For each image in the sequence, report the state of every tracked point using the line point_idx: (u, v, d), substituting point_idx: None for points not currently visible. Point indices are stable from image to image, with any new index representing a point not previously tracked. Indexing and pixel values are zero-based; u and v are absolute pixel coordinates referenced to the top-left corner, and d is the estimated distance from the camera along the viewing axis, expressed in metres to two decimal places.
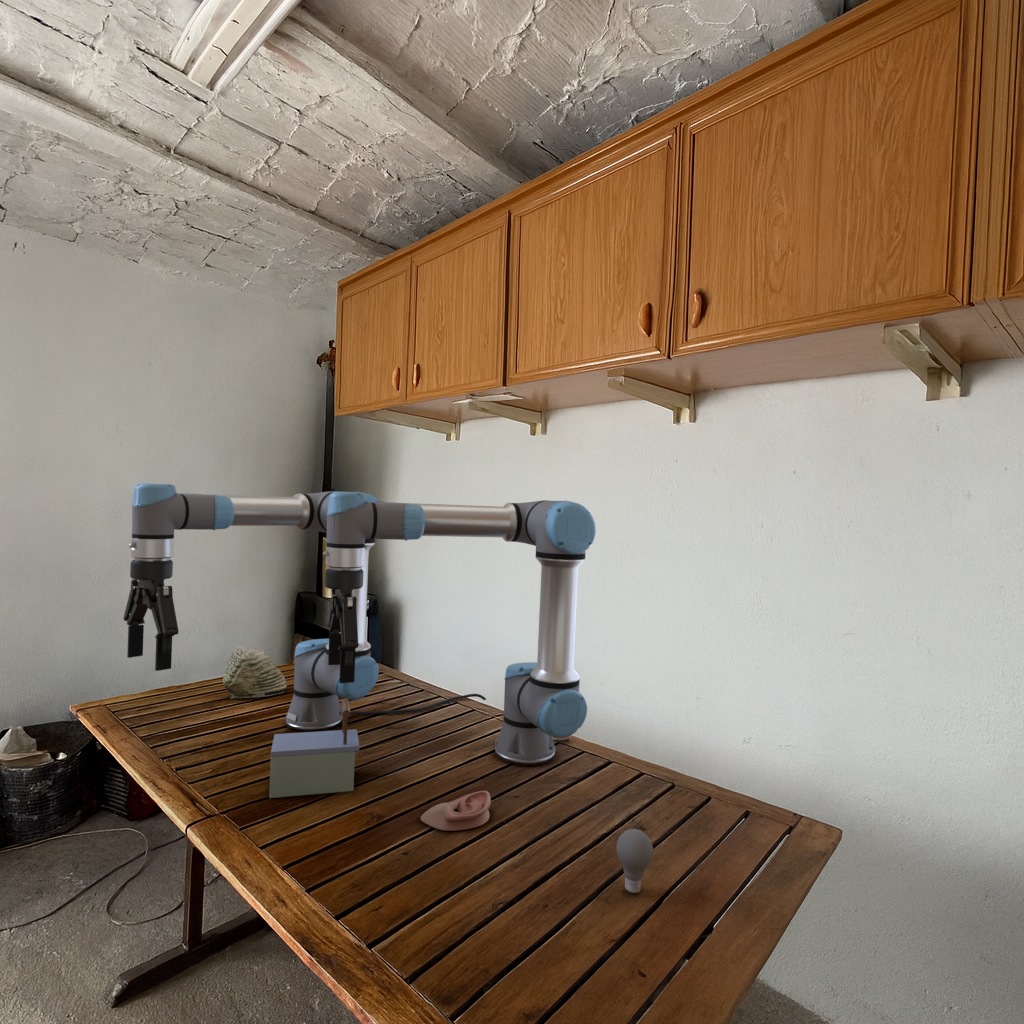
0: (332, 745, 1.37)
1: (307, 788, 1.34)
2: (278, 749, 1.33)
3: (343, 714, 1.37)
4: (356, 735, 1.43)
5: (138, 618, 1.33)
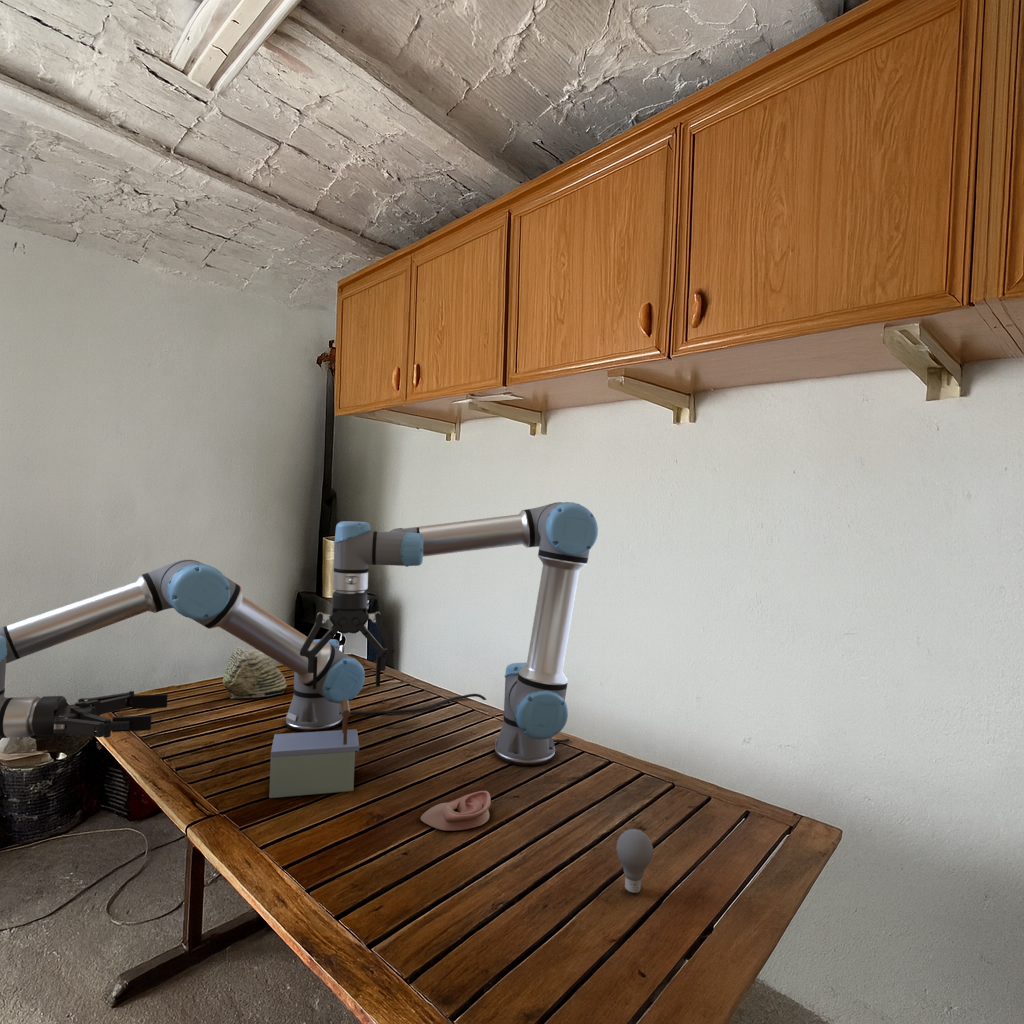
0: (332, 745, 1.37)
1: (307, 788, 1.34)
2: (278, 749, 1.33)
3: (343, 714, 1.37)
4: (356, 735, 1.43)
5: (123, 702, 1.34)
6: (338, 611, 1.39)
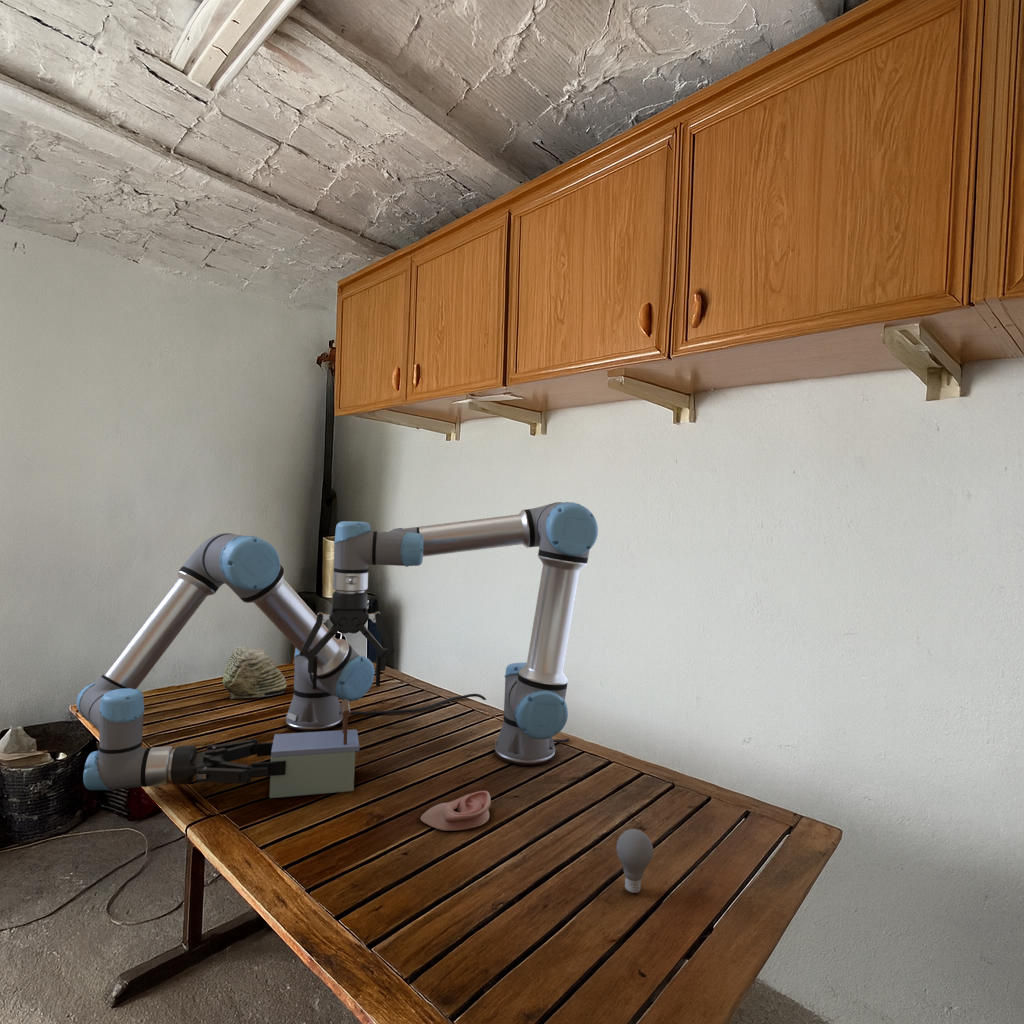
0: (332, 745, 1.37)
1: (307, 788, 1.34)
2: (278, 749, 1.33)
3: (343, 714, 1.37)
4: (356, 735, 1.43)
5: (247, 750, 1.40)
6: (338, 611, 1.39)
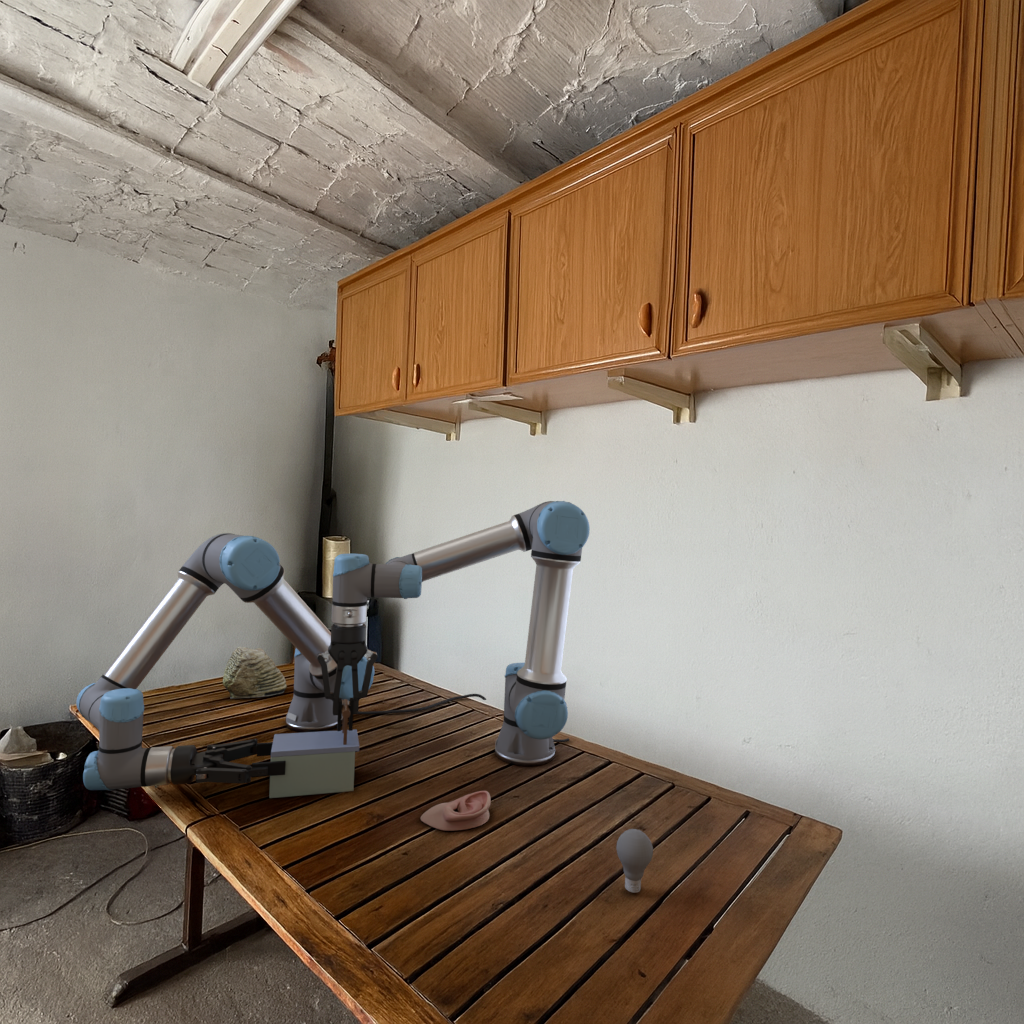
0: (332, 745, 1.37)
1: (307, 788, 1.34)
2: (278, 749, 1.33)
3: (343, 714, 1.37)
4: (356, 735, 1.43)
5: (247, 750, 1.40)
6: (337, 644, 1.39)
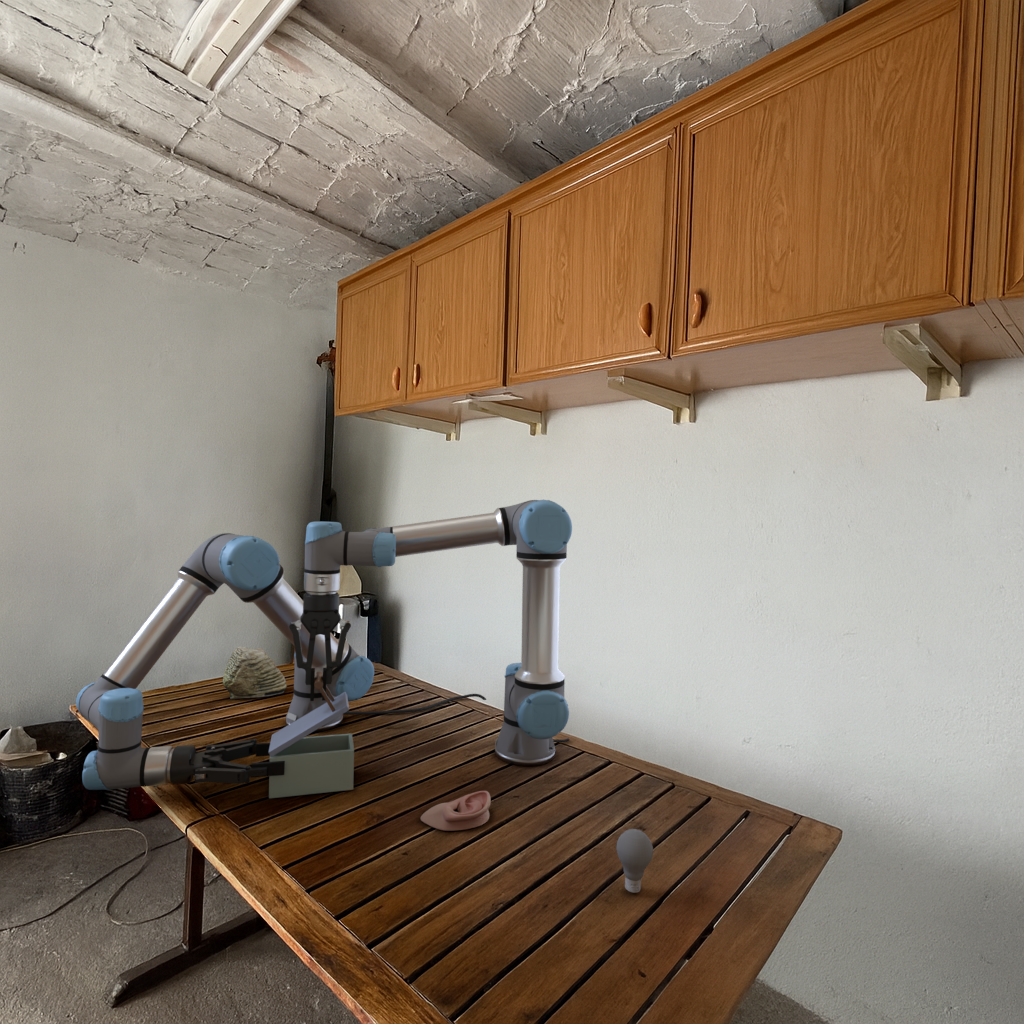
0: (322, 718, 1.36)
1: (307, 788, 1.34)
2: (274, 747, 1.33)
3: (316, 687, 1.35)
4: (344, 697, 1.42)
5: (247, 750, 1.40)
6: (309, 612, 1.37)
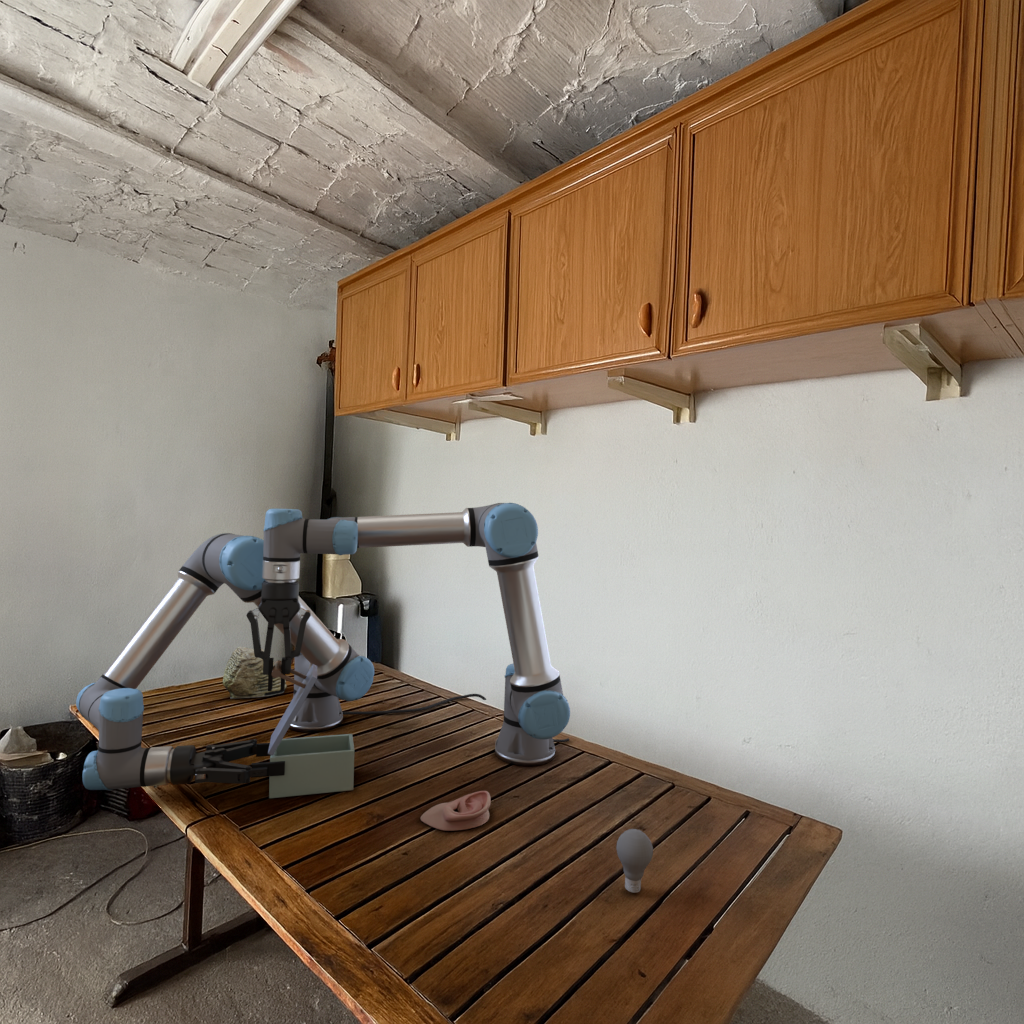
0: (298, 698, 1.34)
1: (307, 788, 1.34)
2: (271, 745, 1.33)
3: (274, 676, 1.33)
4: (311, 669, 1.40)
5: (247, 750, 1.40)
6: (267, 601, 1.34)
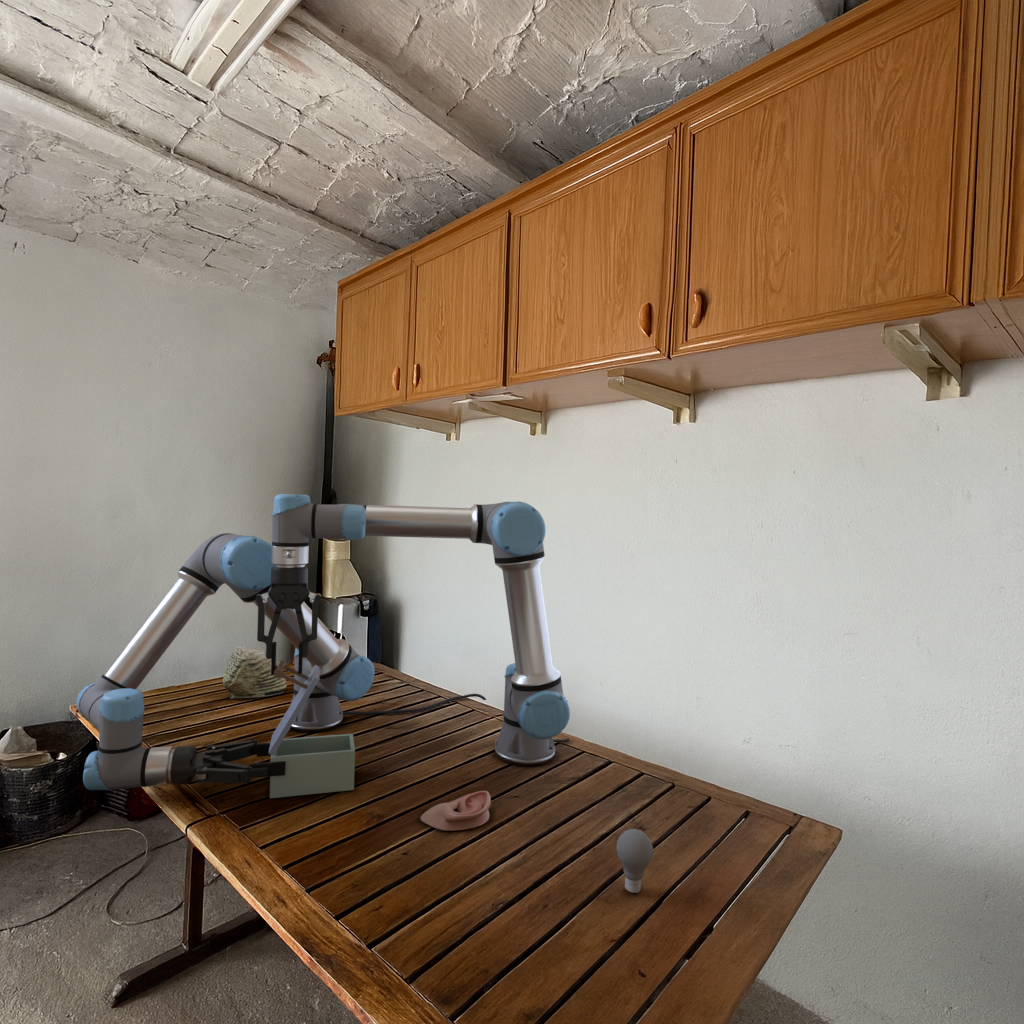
0: (300, 698, 1.34)
1: (307, 788, 1.34)
2: (272, 745, 1.33)
3: (277, 676, 1.33)
4: (314, 670, 1.40)
5: (247, 750, 1.40)
6: (277, 586, 1.35)
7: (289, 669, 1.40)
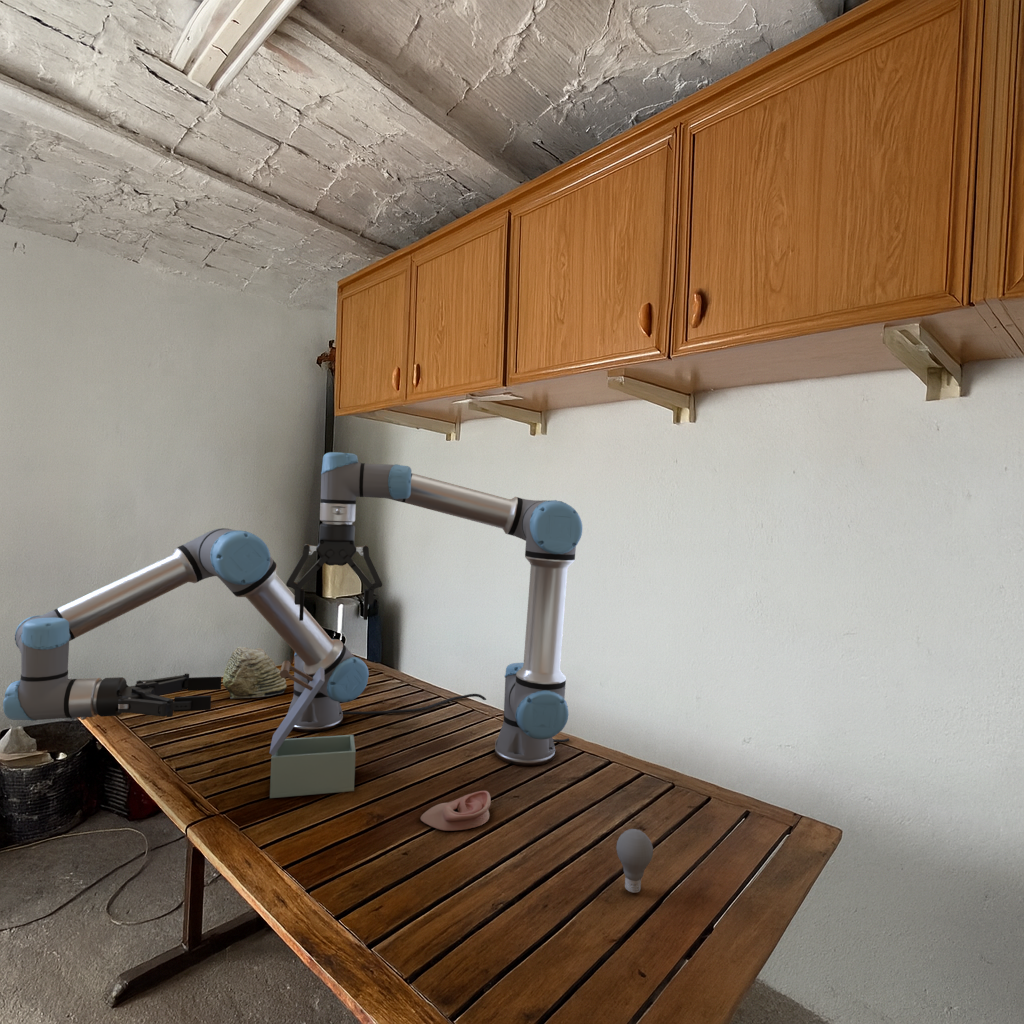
0: (304, 700, 1.35)
1: (308, 788, 1.34)
2: (273, 745, 1.33)
3: (282, 676, 1.33)
4: (319, 672, 1.40)
5: (179, 684, 1.37)
6: (325, 542, 1.38)
7: (294, 670, 1.40)
